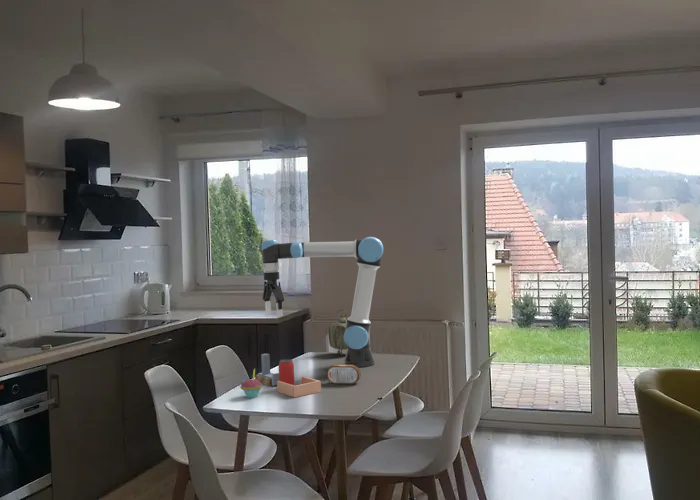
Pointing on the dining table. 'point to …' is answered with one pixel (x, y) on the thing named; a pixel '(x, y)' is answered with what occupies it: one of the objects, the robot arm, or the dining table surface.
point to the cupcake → (251, 387)
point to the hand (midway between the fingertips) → (274, 315)
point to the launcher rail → (264, 380)
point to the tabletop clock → (338, 333)
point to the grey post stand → (268, 369)
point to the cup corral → (300, 387)
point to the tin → (343, 374)
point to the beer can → (286, 371)
